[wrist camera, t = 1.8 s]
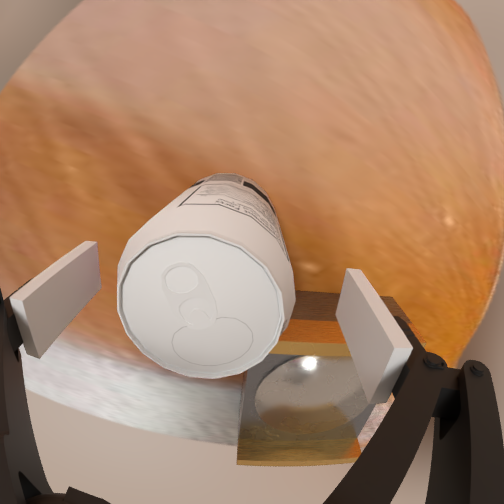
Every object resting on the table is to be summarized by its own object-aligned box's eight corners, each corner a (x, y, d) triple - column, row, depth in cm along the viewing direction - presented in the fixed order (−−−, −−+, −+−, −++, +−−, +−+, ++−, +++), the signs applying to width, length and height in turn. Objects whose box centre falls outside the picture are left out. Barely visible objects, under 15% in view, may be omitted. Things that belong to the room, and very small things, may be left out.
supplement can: (287, 248, 27) (319, 363, 13) (199, 275, 28) (156, 397, 14) (258, 158, 24) (264, 184, 10) (165, 191, 25) (72, 256, 11)
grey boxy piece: (239, 412, 35) (236, 464, 27) (254, 286, 28) (254, 339, 21) (345, 414, 35) (358, 461, 28) (392, 297, 29) (426, 342, 21)
